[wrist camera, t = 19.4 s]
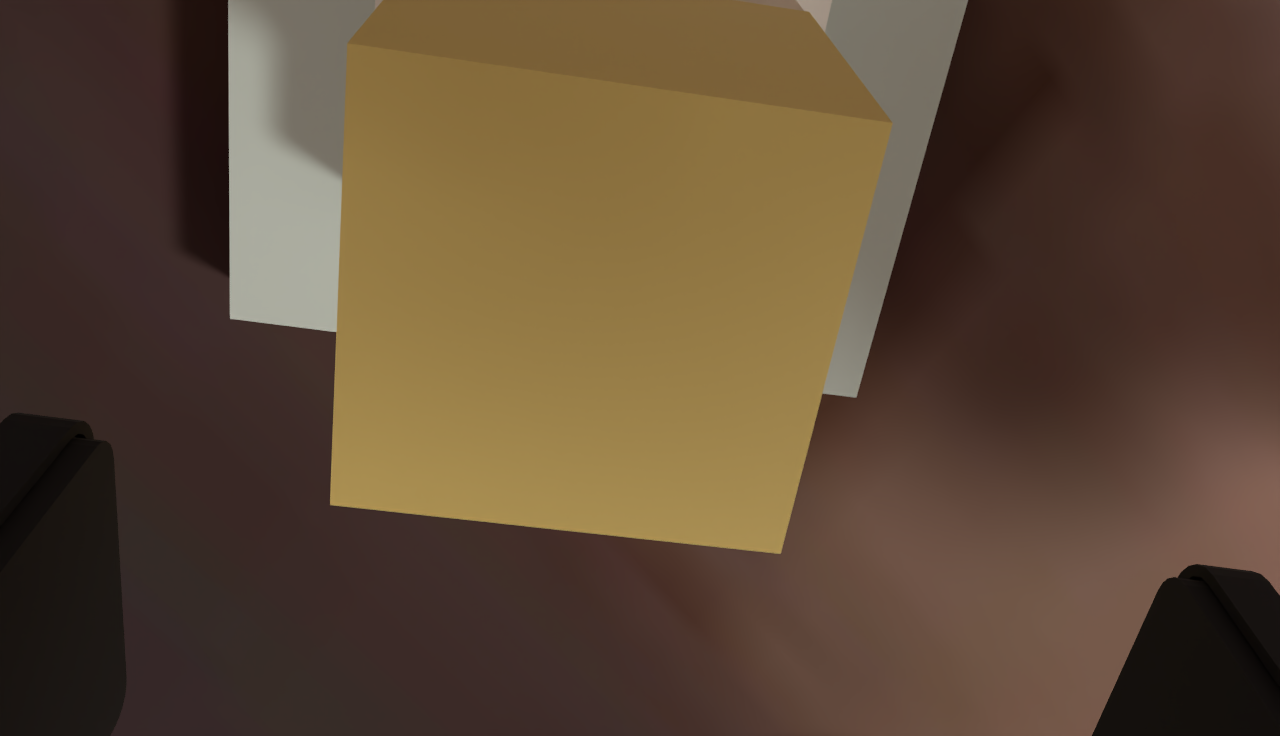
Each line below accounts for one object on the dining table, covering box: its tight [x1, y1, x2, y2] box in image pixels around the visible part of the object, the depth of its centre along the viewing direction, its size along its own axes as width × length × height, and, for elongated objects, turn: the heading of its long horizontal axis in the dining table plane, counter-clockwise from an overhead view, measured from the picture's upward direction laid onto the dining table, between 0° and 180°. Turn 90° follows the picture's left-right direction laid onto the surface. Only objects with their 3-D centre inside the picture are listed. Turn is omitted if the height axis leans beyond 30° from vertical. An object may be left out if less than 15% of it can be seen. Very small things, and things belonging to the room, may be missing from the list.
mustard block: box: [330, 0, 893, 554], centre depth 18 cm, size 6×6×6 cm
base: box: [228, 0, 968, 398], centre depth 29 cm, size 18×18×5 cm
